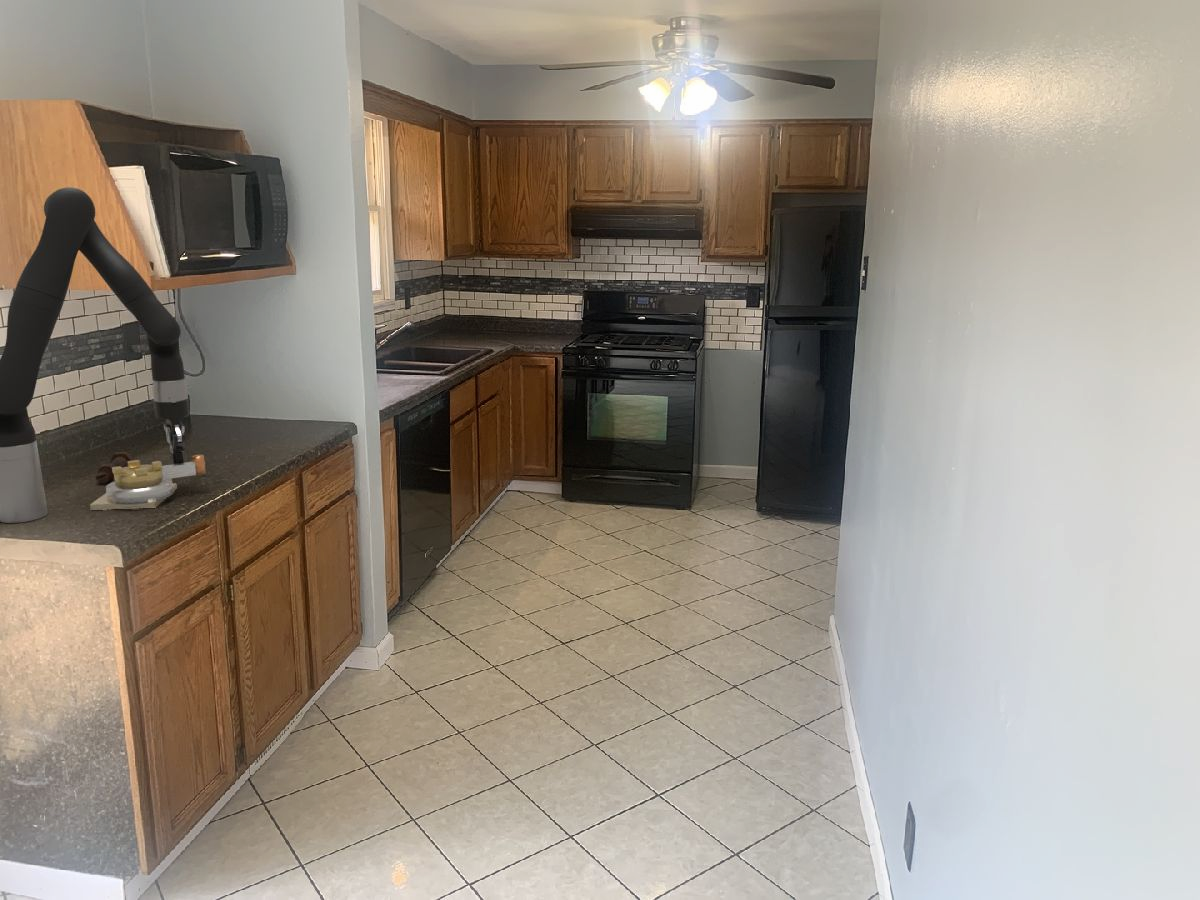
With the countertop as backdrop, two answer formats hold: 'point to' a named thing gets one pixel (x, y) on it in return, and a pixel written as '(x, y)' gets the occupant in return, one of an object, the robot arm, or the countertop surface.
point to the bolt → (106, 469)
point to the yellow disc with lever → (155, 472)
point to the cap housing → (134, 496)
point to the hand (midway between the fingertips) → (178, 466)
